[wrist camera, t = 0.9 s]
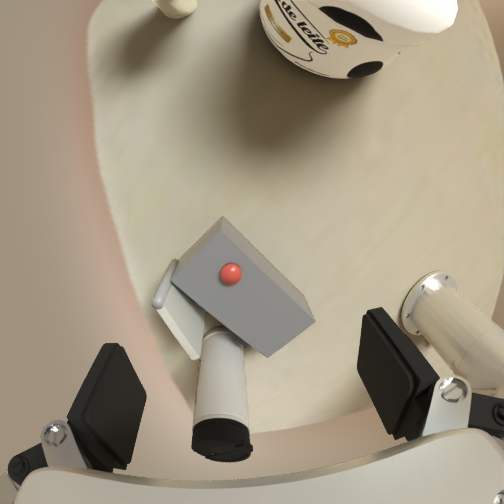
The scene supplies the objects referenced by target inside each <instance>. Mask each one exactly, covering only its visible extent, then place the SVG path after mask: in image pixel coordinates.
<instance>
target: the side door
mask: <svg viewBox="0 0 504 504" xmlns="http://www.w3.org/2000/svg"><path fill="white" fill-rule="evenodd" d="M178 262H179V261H178V260H177V259H174V260H172V261H171V263H170V265H169V267H168V269H167V271H166V273H165V275H164V277H163V279H162V282H161V284H160V286H159V288H158V290H157V292H156V294H155V296H154V298H153V300H152V306H153V307H154V308H155V309H156V310H157V311H158V313H159V314H160V316H161V317H162V319H163V320H164V322H165V323H166V325H167V326H168V328H169V329H170V330H171V332H172V333H173V335H174V336H175V338H176V339H177V340H178V342H179V343H180V344H181V346H182V348H183V349H184V351H185V352H186V353H187V355H189V357H190V358H191V359H192V361H193V360H196V359H199V358H200V355H201V347H202V339H203V331H204V324H205V316H206V310H205V309H204V308H202V307H201V306H200V305H199V304H198V303H196V302H195V301H194V300H193V299H192V298H190V297H189V296H188V295H187V294H186V293H185V292H183V291H182V290H181V289H180V288H179V287H178V286H176V285H175V284H174V283H173V282H172V281H171V278H172V276H173V273H174V271H175V269H176V267H177V264H178Z"/></svg>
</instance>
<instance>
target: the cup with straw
mask: <svg viewBox="0 0 504 504" xmlns="http://www.w3.org/2000/svg"><path fill="white" fill-rule="evenodd" d="M152 2H153V3H154V4H155V5H156V6H157V7H158V8H159V9H160V10H161V11H162V12H163V13H164V14H165V15H166V16H167V17H169V18H173V19H178V18H183V17H186V16H188V15H190V14H191V13H192V12H193V11H194V10H195V9H196V6H197V0H152Z"/></svg>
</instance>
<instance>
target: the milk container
mask: <svg viewBox="0 0 504 504" xmlns="http://www.w3.org/2000/svg"><path fill="white" fill-rule="evenodd" d="M259 9H260V17H261V22H262V25H263V28H264V30H265V33H266V35H267V36H268V38H269V40H270V41H271V43H272V44H273V45H274V46H275V48H276V49H277V50H278V51H279V52H280V53H281V54H282V55H283V56H285V57H286V58H287V59H288V60H290V61H291V62H293V63H294V64H296V65H297V66H299V67H301V68H303V69H305V70H307V71H309V72H312V73H315V74H318V75H321V76H325V77H331V78H357V77H362V76H367V75H370V74H373V73H375V72H378V71H380V70H382V69H383V68H385V67H386V66H388V65H389V64H390V63H391V62H392V61H393V60H394V59H395V58H396V57H397V56H398V55H399V53H400V52H401V51H403V50H406V49H409V48H412V47H414V46H417V45H419V44H421V43H422V42H425V41H427V40H428V39H430V38H432V37H433V36H435V35H437V34H438V33H440V32H442V31H444V30H445V29H447V28H449V27H450V26H451V25H452V24H453V22H454V19H455V16H456V14H457V11H458V7H457V0H260V4H259Z"/></svg>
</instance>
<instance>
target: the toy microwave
mask: <svg viewBox="0 0 504 504" xmlns="http://www.w3.org/2000/svg"><path fill="white" fill-rule="evenodd" d="M171 281H172V282H173V283H174V284H175V285H176V286H178V287H179V288H180V289H181V290H182V291H183V292H185V293H186V294H187V295H188V296H189V297H190V298H192V299H193V300H194V301H195V302H196V303H198V304H199V305H200V306H201V307H202V308H204V309H205V310H206V311H207V312H209V313H210V314H211V315H212V316H213V317H215V318H216V319H217V320H218V321H220V322H221V323H222V324H223V325H225V326H226V327H227V328H228V329H230V330H231V332H232V334H233V335H234V337H235V338H236V340H237V341H238V342H239V343H240V344H242V345H243V346H244V347H246V348H252V347H253V348H254V349H256V350H257V351H259V352H260V353H261V354H263V355H264V356H265V357H267V358H268V357H270V356H271V355H272V354H274V353H275V352H276V351H278V350H279V349H280V348H282V347H283V346H285V345H286V344H287V343H289V342H290V341H291V340H293V339H294V338H295V337H296V336H298V335H299V334H300V333H302V332H303V331H304V330H305V329H307V328H308V327H309V326H311V325H312V324H313V323H314V322H316V321H315V319H314V316H313V314H312V312H311V310H310V308H309V305H308V303H307V301H306V299H305V297H304V295H303V294H302V293H301V292H300V291H299V290H298V289H297V288H296V287H295V286H294V285H293V284H292V283H291V282H290V281H289V280H288V279H287V278H286V277H285V276H284V275H282V274H281V273H280V272H279V271H278V270H277V269H276V268H275V267H274V266H273V265H272V264H271V263H270V262H269V261H268V260H267V259H266V258H265V257H264V256H263V255H262V254H261V253H260V252H259V251H258V250H257V249H256V248H255V247H254V246H253V245H252V244H251V243H250V242H249V241H248V240H247V239H246V238H245V237H244V236H243V235H242V234H241V233H240V232H239V231H238V230H237V229H236V228H235V227H234V226H233V225H232V224H231V223H230V222H229V221H228V220H227V219H225V218H224V217H223V216H222V217H221V218H220V219H219V220H218V221H217V222H216V223H215V224H214V225H213V226H212V227H211V228H210V229H209V230H208V231H207V232H206V233H205V234H204V235H203V236H202V237H201V238H200V239H199V240H198V241H197V242H196V243H195V244H194V245H193V246H192V247H191V248H190V249H189V250H188V251H187V252H186V253H185V254H184V255H183V256H182V257H181V258H180V260H179V262H178V264H177V267H176V269H175V271H174V273H173V276H172V278H171Z"/></svg>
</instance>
